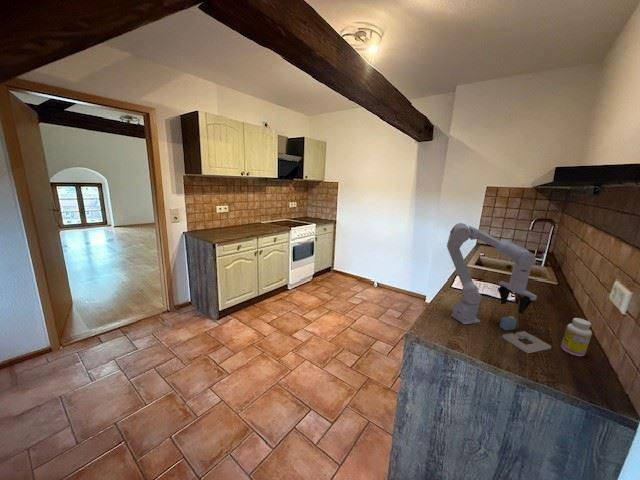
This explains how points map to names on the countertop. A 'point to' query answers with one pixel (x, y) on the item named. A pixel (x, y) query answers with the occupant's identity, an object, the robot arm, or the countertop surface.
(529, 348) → the plate
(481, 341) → the countertop surface
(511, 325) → the block
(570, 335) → the supplement bottle
